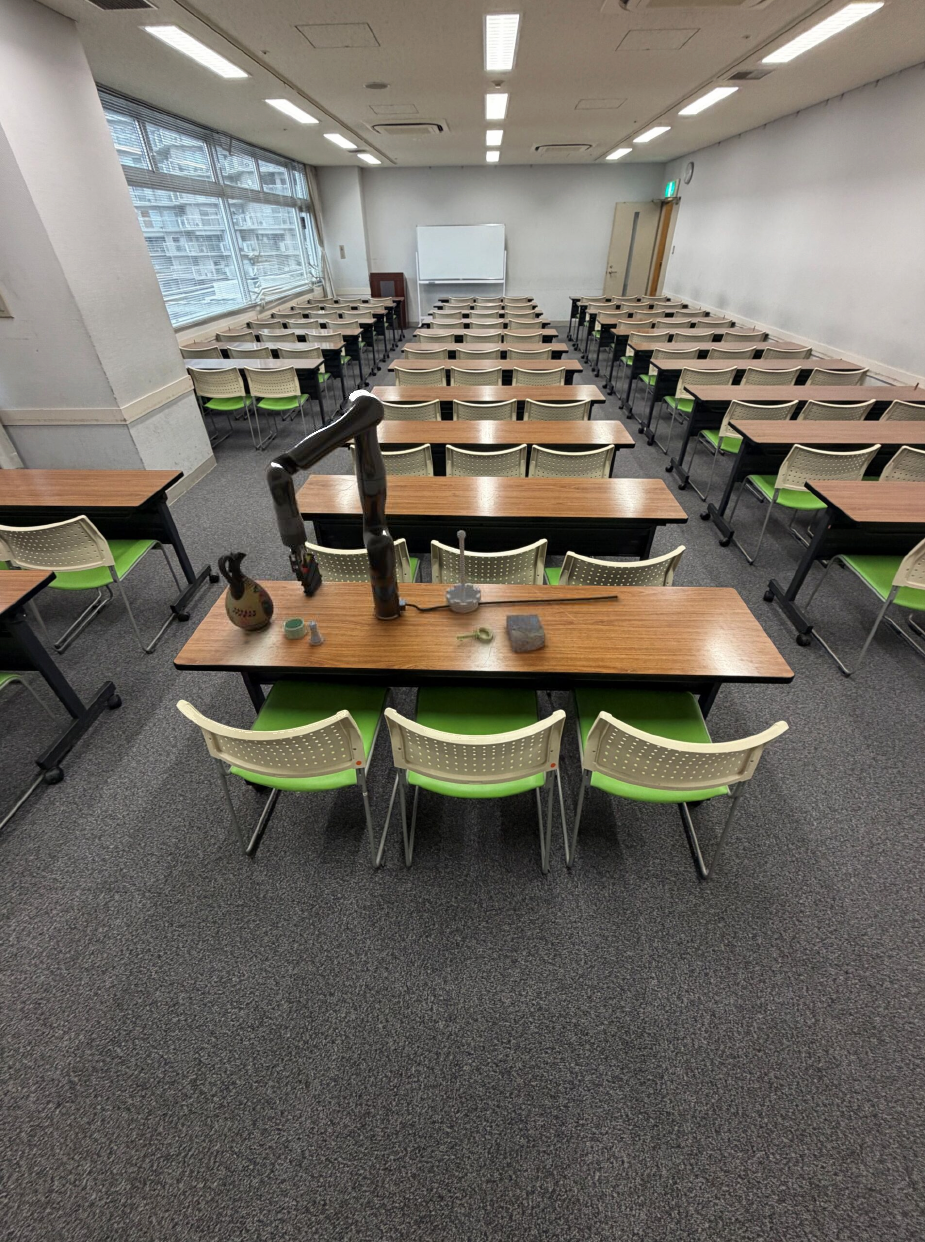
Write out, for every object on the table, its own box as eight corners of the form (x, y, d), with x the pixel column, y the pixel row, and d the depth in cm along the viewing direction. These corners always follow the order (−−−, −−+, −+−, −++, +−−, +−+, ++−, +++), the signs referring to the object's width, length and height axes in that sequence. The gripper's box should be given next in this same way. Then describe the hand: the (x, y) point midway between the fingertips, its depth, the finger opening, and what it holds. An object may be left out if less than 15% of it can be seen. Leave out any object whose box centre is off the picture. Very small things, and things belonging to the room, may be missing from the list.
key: (455, 641, 173) (455, 636, 172) (484, 628, 179) (484, 623, 177) (468, 651, 168) (467, 646, 167) (497, 638, 174) (497, 633, 173)
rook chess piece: (326, 639, 176) (321, 620, 171) (318, 647, 172) (313, 628, 168) (315, 636, 177) (311, 617, 173) (307, 644, 174) (302, 625, 169)
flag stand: (481, 614, 186) (480, 539, 168) (445, 614, 186) (441, 539, 168) (480, 594, 196) (480, 522, 179) (447, 595, 197) (443, 523, 179)
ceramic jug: (248, 612, 191) (223, 539, 174) (285, 615, 188) (265, 542, 171) (221, 639, 177) (192, 563, 160) (262, 644, 175) (237, 567, 157)
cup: (307, 626, 182) (305, 617, 180) (304, 638, 177) (302, 628, 174) (288, 628, 182) (285, 618, 179) (284, 640, 176) (281, 630, 174)
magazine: (325, 574, 209) (313, 552, 196) (317, 602, 202) (304, 581, 189) (316, 574, 209) (303, 552, 196) (308, 601, 203) (294, 581, 190)
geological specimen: (536, 611, 177) (547, 635, 165) (535, 626, 181) (546, 650, 168) (506, 613, 176) (515, 638, 164) (505, 628, 179) (514, 653, 167)
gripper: (300, 537, 151) (312, 584, 160) (307, 517, 162) (317, 562, 172) (274, 539, 150) (287, 586, 160) (283, 519, 162) (294, 564, 171)
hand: (303, 574), depth 166 cm, fingers open, 8 cm apart
